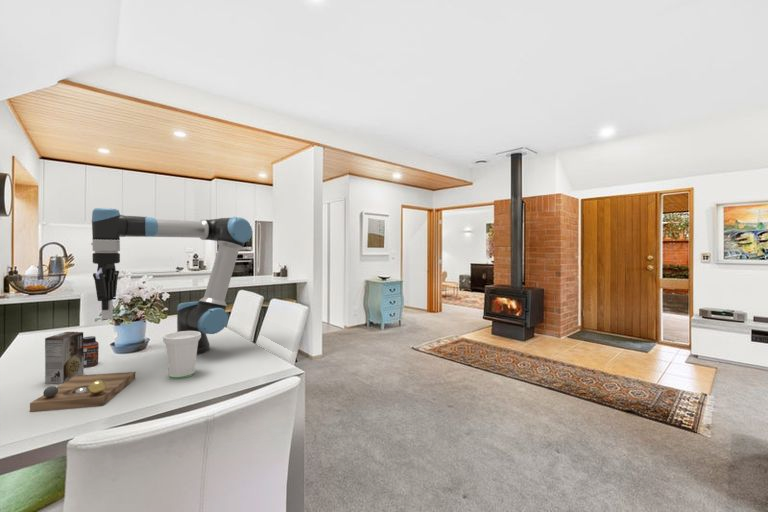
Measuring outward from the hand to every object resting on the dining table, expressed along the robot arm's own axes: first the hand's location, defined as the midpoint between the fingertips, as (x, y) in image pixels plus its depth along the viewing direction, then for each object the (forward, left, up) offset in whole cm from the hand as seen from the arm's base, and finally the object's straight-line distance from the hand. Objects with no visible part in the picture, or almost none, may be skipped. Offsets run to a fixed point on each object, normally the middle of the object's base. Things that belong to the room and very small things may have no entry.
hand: (107, 318), depth 121 cm
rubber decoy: (+7, +17, -19) cm, 26 cm away
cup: (-23, -2, -23) cm, 33 cm away
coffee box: (+16, -6, -23) cm, 28 cm away
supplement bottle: (+16, -21, -23) cm, 35 cm away
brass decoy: (-5, +18, -18) cm, 26 cm away
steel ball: (+1, +14, -21) cm, 25 cm away
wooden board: (+1, +10, -23) cm, 25 cm away
